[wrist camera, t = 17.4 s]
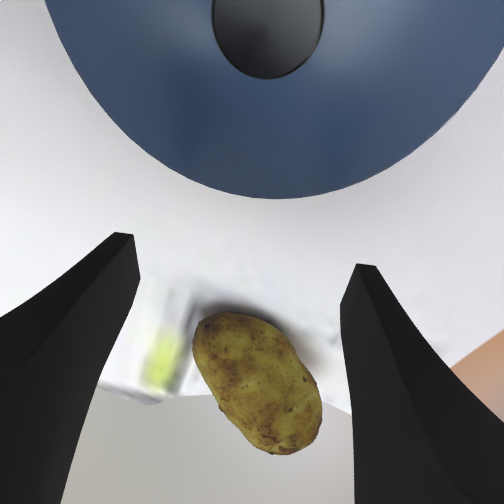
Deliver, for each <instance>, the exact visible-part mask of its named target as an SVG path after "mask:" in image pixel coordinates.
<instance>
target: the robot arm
mask: <svg viewBox="0 0 504 504" xmlns="http://www.w3.org/2000/svg"><path fill="white" fill-rule="evenodd" d="M139 282H140V272H139V266H138V260H137V254H136V248H135V241H134V235H133V234H126V233H119V232H114V233H113V234H111V235H110V236H109V237H108V238H107V239H105V240H104V241H103V242H102V243H101V244H99V245H98V246H97V247H96V248H95V249H94V250H92V251H91V252H90V253H89V254H88V255H86V256H85V257H84V258H83V259H82V260H80V261H79V262H78V263H77V264H75V265H74V266H73V267H72V268H70V269H69V270H68V271H67V272H65V273H64V274H63V275H62V276H60V277H59V278H58V279H56V280H55V281H54V282H52V283H51V284H50V285H48V286H47V287H46V288H44V289H43V290H41V291H40V292H39V293H37V294H36V295H35V296H33V297H32V298H30V299H29V300H27V301H26V302H24V303H23V304H21V305H20V306H18V307H16V308H15V309H13V310H12V311H10V312H8V313H7V314H5V315H3V316H2V317H0V504H60V503H61V500H62V496H63V492H64V489H65V485H66V481H67V477H68V474H69V470H70V467H71V463H72V460H73V457H74V453H75V450H76V447H77V443H78V440H79V437H80V433H81V430H82V427H83V424H84V421H85V418H86V415H87V412H88V409H89V405H90V403H91V400H92V397H93V394H94V391H95V388H96V386H97V383H98V380H99V377H100V375H101V372H102V370H103V367H104V365H105V363H106V361H107V359H108V356H109V354H110V352H111V350H112V348H113V346H114V344H115V342H116V339H117V337H118V335H119V333H120V331H121V329H122V327H123V324H124V322H125V320H126V318H127V316H128V313H129V311H130V309H131V307H132V304H133V301H134V298H135V295H136V292H137V288H138V285H139ZM340 326H341V339H342V346H343V352H344V359H345V366H346V372H347V379H348V385H349V392H350V399H351V408H352V426H353V449H354V491H355V492H354V496H355V497H354V498H355V504H504V422H502V421H501V420H500V419H499V418H498V417H497V416H496V415H495V414H494V413H493V412H492V411H490V410H489V409H488V408H487V407H486V406H485V405H484V404H483V403H482V402H481V401H480V400H479V399H478V398H477V397H476V396H475V395H474V394H473V393H472V392H471V391H470V390H469V389H468V388H467V387H466V386H465V385H464V384H463V383H462V382H461V380H459V378H458V377H457V376H456V375H455V374H454V373H453V372H452V371H451V369H450V368H449V367H448V366H447V365H446V364H445V363H444V362H443V360H442V359H441V358H440V357H439V356H438V355H437V353H436V352H435V351H434V350H433V349H432V347H431V346H430V345H429V343H428V342H427V341H426V340H425V338H424V337H423V336H422V334H421V333H420V332H419V330H418V329H417V328H416V326H415V325H414V323H413V322H412V321H411V319H410V318H409V316H408V315H407V313H406V312H405V310H404V309H403V308H402V306H401V305H400V303H399V302H398V300H397V299H396V297H395V295H394V294H393V292H392V291H391V289H390V288H389V286H388V285H387V283H386V281H385V280H384V278H383V277H382V275H381V273H380V272H379V270H378V269H377V267H376V266H373V265H366V264H358V263H356V266H355V268H354V271H353V273H352V276H351V278H350V281H349V283H348V286H347V288H346V291H345V293H344V296H343V298H342V301H341V303H340Z"/></svg>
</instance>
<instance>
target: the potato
mask: <svg viewBox="0 0 504 504" xmlns="http://www.w3.org/2000/svg"><path fill="white" fill-rule="evenodd" d="M192 343H193V346H192V351H193V357H194V360H195V363H196V365H197V367H198V369H199V371H200V373H201V375H202V377H203V378H204V380H205V382H206V384H207V385H208V387H209V388H210V390H211V392H212V394H213V395H214V397H215V399H216V400H217V402H218V404H219V409H220V410H221V411H223V412H224V414H225V415H226V417H227V418H228V419H229V420H230V421H231V422H232V423H233V424H234V425H235V426H236V427H238V428H239V429H240V431H241V432H242V433H243V435H244V436H245V437H246V439H247V440H248V441H249V442H250V443H251V444H252V445H253V446H255V447H256V448H258V449H260V450H263V451H265V452H268V453H270V454H272V455H273V454H276V455H289V454H292V453H295V452H297V451H299V450H301V449H303V448H305V447H307V446H308V445H310V444H311V443H312V442H313V441H314V440H315V438H316V436H317V435H318V431H319V427H320V425H321V422H322V402H321V398H320V394H319V391H318V388H317V383H316V381H315V380H314V378H313V377H312V375H311V373H310V372H309V371H308V370H307V368H306V367H305V366H304V365H303V363H302V362H301V361H300V359H299V358H298V356H297V353H296V351H295V348H294V346H293V345H292V343H291V342H290V340H289V339H288V338H287V337H286V336H285V335H284V334H282V333H281V332H280V331H279V330H278V329H276V328H275V327H274V326H272V325H270V324H269V323H267V322H265V321H263V320H260V319H257V318H255V317H252V316H248V315H242V314H237V313H230V312H221V313H217V314H214V315H211V316H208V317H206V318H204V319H203V320H201V321H200V322H199V324H198V326H197V328H196V331H195V335H194V339H193V342H192Z"/></svg>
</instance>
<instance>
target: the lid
mask: <svg viewBox="0 0 504 504" xmlns="http://www.w3.org/2000/svg"><path fill="white" fill-rule="evenodd" d="M45 3H46V6H47V8H48V11H49V13H50V16H51V18H52V21H53V23H54V26H55V28H56V31H57V33H58V36H59V38H60V40H61V42H62V44H63V46H64V48H65V50H66V52H67V54H68V56H69V58H70V60H71V62H72V64H73V65H74V67H75V69H76V71H77V72H78V74H79V75H80V77H81V78H82V80H83V82H84V83H85V85H86V86H87V88H88V89H89V91H90V92H91V94H92V95H93V97H94V98H95V99H96V100H97V102H98V103H99V104H100V106H101V107H102V108H103V109H104V111H105V112H106V113H107V114H108V116H109V117H110V118H111V119H112V120H113V121H114V122H115V123H116V124H117V125H118V126H119V127H120V128H121V130H122V131H123V132H124V133H125V134H126V135H127V136H128V137H129V138H130V139H132V140H133V141H134V142H135V143H136V144H137V145H139V146H140V147H141V148H142V149H143V150H145V151H146V152H147V153H148V154H149V155H151V156H152V157H154V158H155V159H157V160H158V161H160V162H161V163H162V164H164V165H165V166H167V167H168V168H170V169H172V170H174V171H176V172H177V173H179V174H181V175H183V176H185V177H187V178H188V179H191V180H193V181H195V182H198V183H200V184H203V185H205V186H207V187H210V188H213V189H217V190H220V191H223V192H227V193H230V194H235V195H241V196H246V197H252V198H265V199H291V198H302V197H309V196H315V195H321V194H324V193H328V192H332V191H336V190H340V189H343V188H346V187H348V186H351V185H353V184H356V183H359V182H361V181H364V180H366V179H368V178H370V177H372V176H374V175H376V174H378V173H380V172H382V171H384V170H386V169H388V168H389V167H391V166H392V165H394V164H395V163H397V162H398V161H400V160H401V159H403V158H405V157H406V156H408V155H409V154H411V153H412V152H413V151H414V150H416V149H417V148H418V147H419V146H421V145H422V144H423V143H424V142H426V141H427V140H428V139H429V138H431V137H432V136H433V135H434V134H435V133H436V132H437V131H438V130H439V129H440V128H441V127H442V126H443V125H444V124H445V123H446V122H447V121H448V120H449V119H450V118H452V117H453V116H454V115H455V113H456V112H457V111H458V110H459V109H460V108H461V106H462V105H463V104H464V103H465V102H466V100H467V99H468V98H469V97H470V96H471V94H472V93H473V92H474V91H475V90H476V89H477V87H478V86H479V84H480V83H481V81H482V80H483V78H484V77H485V75H486V74H487V73H488V71H489V70H490V68H491V67H492V65H493V64H494V62H495V61H496V59H497V58H498V56H499V54H500V52H501V51H502V49H503V47H504V0H45Z"/></svg>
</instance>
